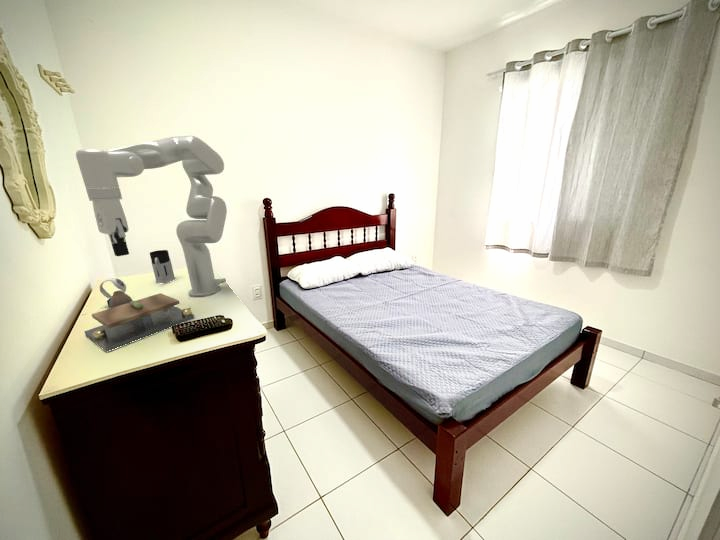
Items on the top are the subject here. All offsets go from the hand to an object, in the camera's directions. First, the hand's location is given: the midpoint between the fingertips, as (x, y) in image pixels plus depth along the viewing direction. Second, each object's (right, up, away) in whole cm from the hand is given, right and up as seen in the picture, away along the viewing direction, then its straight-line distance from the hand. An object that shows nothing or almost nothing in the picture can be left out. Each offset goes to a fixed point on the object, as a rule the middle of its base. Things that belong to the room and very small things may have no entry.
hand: (122, 255), depth 90 cm
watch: (-23, -19, +26) cm, 40 cm away
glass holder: (-22, -11, +52) cm, 57 cm away
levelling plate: (+1, -18, +6) cm, 19 cm away
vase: (-15, -21, +19) cm, 32 cm away
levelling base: (+1, -24, +8) cm, 25 cm away
